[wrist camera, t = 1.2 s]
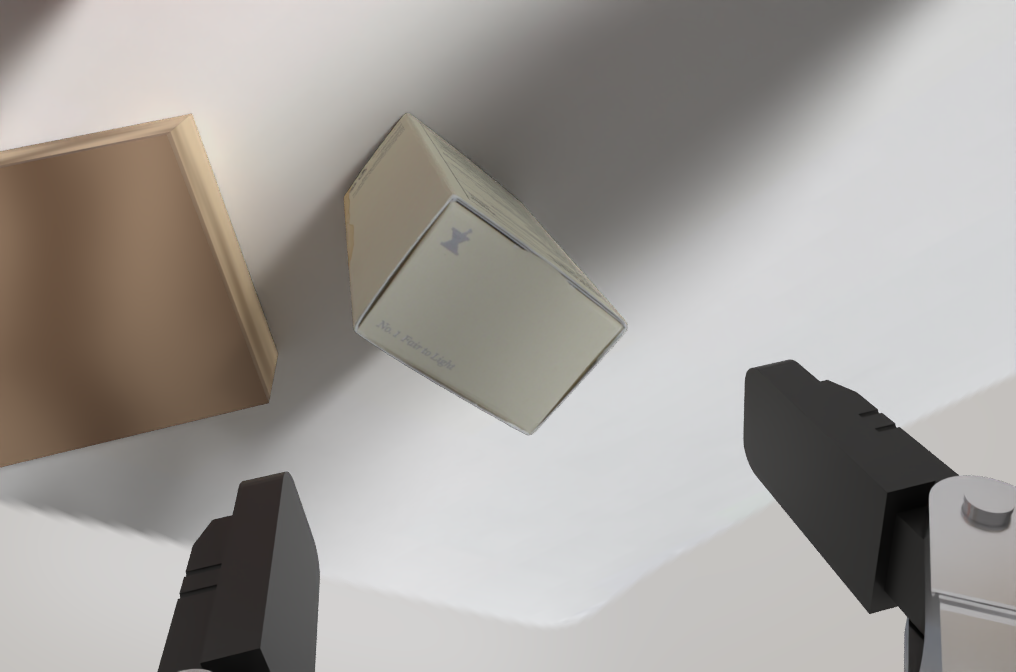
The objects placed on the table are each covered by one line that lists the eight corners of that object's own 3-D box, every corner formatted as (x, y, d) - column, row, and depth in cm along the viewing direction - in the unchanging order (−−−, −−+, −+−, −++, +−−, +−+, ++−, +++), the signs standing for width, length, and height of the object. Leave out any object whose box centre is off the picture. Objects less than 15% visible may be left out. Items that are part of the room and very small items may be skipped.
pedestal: (191, 113, 26) (166, 134, 22) (278, 354, 30) (268, 402, 27) (-104, 171, 25) (-179, 203, 21) (32, 411, 29) (-11, 469, 26)
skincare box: (340, 197, 28) (335, 330, 17) (408, 104, 27) (448, 184, 16) (465, 284, 31) (528, 446, 20) (532, 203, 30) (635, 328, 19)
